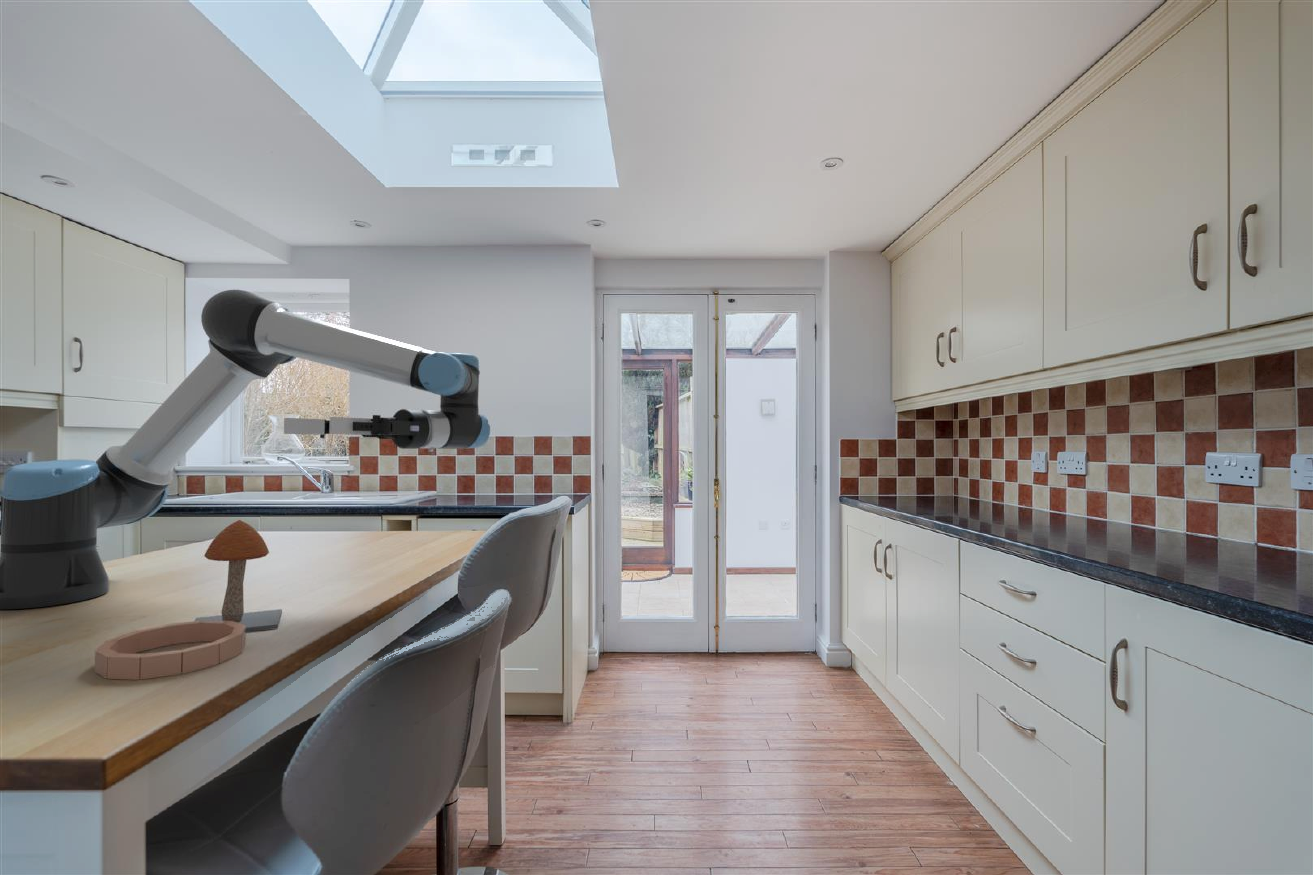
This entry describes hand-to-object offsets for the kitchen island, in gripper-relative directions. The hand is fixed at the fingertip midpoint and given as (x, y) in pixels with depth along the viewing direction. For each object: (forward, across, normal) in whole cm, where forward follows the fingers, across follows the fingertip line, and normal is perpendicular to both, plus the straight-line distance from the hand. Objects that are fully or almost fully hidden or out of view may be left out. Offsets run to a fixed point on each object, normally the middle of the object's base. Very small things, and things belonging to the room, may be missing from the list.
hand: (306, 425), depth 98 cm
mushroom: (+10, 0, -30) cm, 31 cm away
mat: (+10, 0, -30) cm, 32 cm away
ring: (+20, -8, -30) cm, 37 cm away
